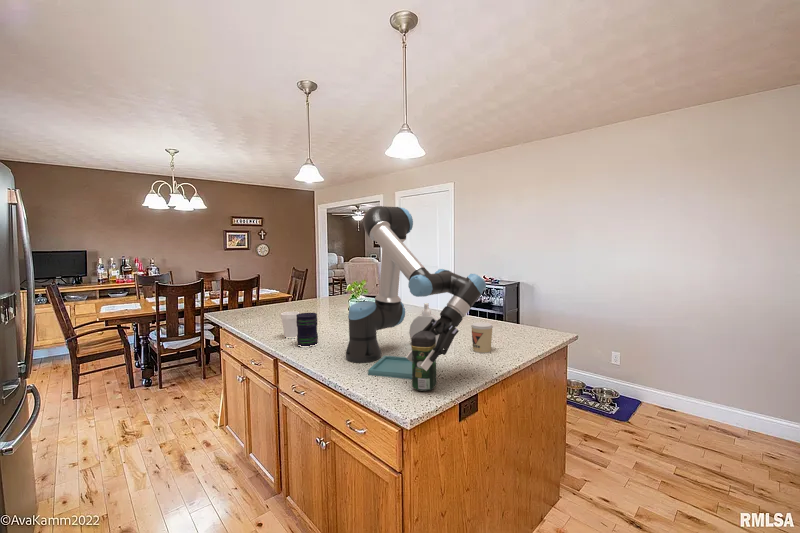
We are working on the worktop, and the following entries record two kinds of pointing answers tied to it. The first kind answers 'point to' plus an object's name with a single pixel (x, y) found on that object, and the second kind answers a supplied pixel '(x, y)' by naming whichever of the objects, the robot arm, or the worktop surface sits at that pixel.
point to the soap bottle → (422, 321)
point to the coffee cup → (481, 337)
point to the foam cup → (289, 323)
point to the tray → (392, 367)
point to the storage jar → (307, 329)
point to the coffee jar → (420, 350)
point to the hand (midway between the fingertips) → (415, 363)
